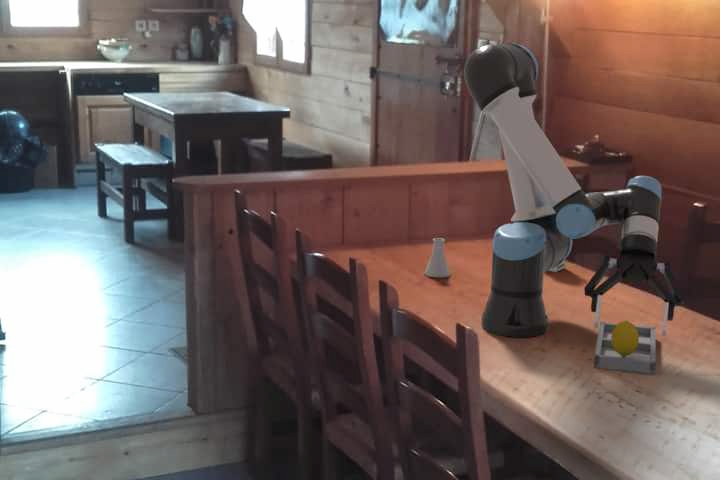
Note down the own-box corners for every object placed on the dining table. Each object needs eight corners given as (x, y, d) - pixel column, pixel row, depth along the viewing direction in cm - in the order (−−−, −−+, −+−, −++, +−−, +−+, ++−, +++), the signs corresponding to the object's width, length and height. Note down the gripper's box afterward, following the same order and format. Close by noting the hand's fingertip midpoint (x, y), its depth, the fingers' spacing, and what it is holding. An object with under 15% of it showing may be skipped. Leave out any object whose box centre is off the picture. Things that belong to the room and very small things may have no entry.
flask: (451, 278, 263) (453, 242, 260) (424, 278, 263) (425, 242, 260) (449, 271, 270) (451, 236, 267) (423, 271, 270) (424, 235, 267)
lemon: (638, 362, 201) (641, 325, 199) (610, 360, 202) (613, 324, 200) (636, 353, 206) (639, 317, 205) (609, 351, 207) (611, 315, 206)
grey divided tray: (654, 374, 197) (655, 363, 197) (593, 367, 200) (594, 356, 200) (654, 338, 219) (655, 327, 218) (599, 332, 222) (600, 321, 221)
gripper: (697, 255, 212) (691, 344, 202) (580, 244, 219) (569, 329, 209) (701, 238, 205) (694, 328, 195) (580, 227, 213) (568, 314, 203)
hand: (629, 329), depth 202 cm, fingers open, 13 cm apart
